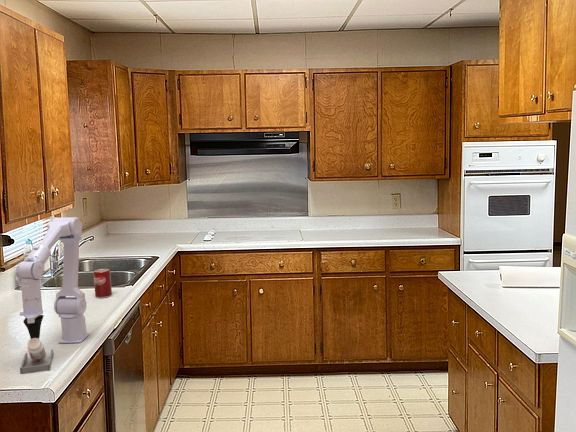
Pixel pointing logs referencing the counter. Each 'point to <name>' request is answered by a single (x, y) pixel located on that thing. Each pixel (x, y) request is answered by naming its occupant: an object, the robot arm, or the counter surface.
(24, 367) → the tray
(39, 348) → the pill bottle
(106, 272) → the soda can
